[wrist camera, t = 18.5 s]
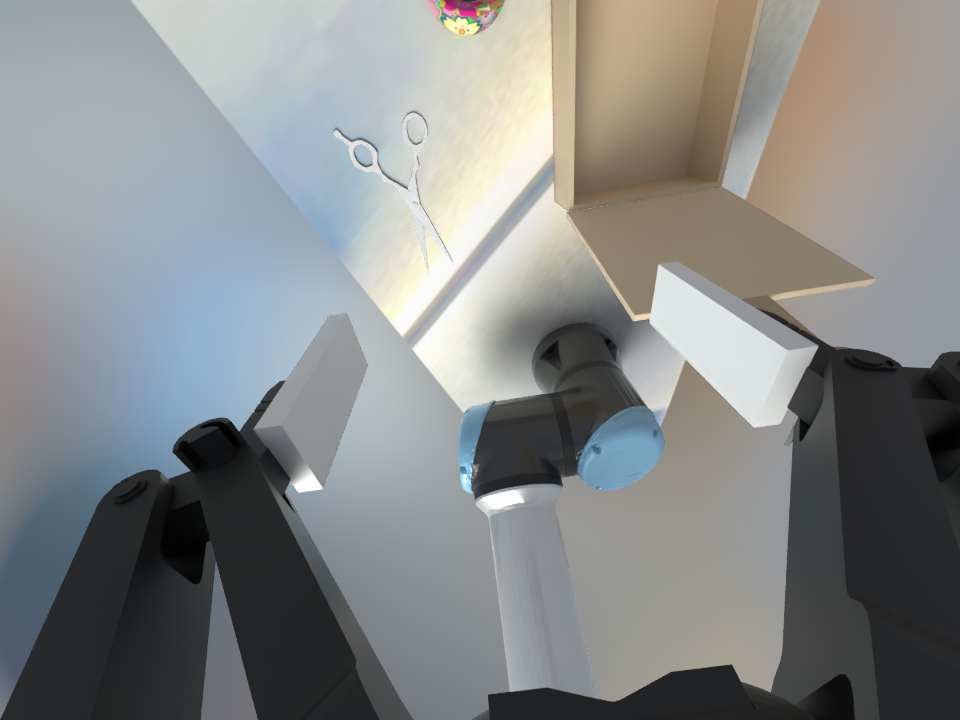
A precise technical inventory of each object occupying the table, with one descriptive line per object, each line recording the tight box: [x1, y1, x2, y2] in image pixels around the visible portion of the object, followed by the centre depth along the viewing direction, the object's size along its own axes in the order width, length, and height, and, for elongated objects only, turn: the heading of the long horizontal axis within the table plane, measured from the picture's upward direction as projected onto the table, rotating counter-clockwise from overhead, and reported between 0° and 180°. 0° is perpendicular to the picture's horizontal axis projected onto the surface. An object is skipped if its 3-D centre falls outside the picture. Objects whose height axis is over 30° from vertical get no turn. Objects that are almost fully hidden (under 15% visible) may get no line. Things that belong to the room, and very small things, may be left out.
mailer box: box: [551, 0, 765, 212], centre depth 38 cm, size 20×18×7 cm
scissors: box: [334, 113, 452, 273], centre depth 46 cm, size 11×1×20 cm
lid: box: [567, 187, 876, 350], centre depth 30 cm, size 30×18×4 cm
